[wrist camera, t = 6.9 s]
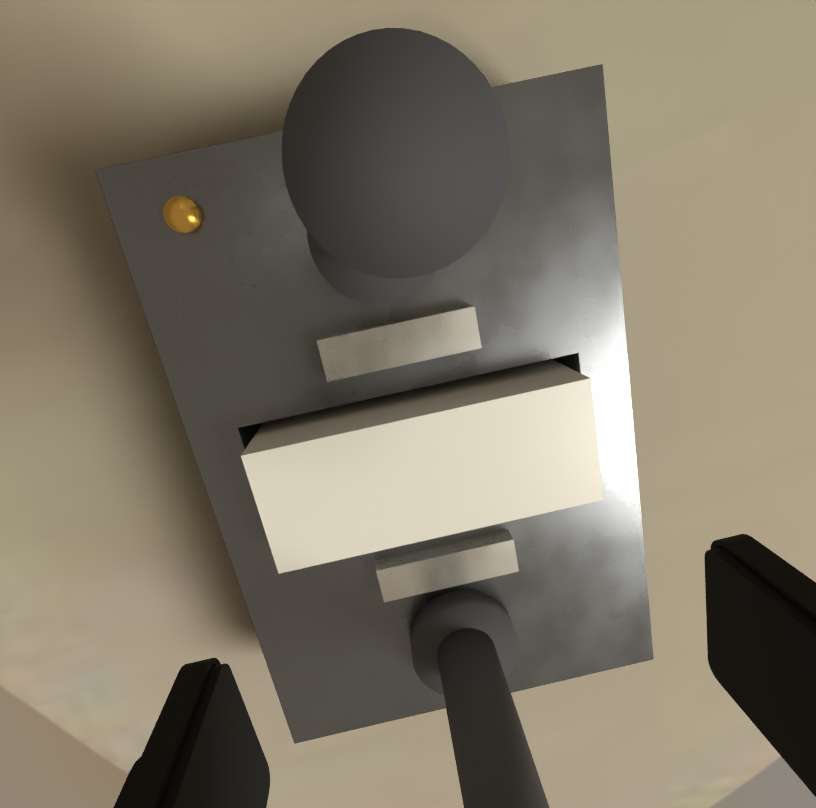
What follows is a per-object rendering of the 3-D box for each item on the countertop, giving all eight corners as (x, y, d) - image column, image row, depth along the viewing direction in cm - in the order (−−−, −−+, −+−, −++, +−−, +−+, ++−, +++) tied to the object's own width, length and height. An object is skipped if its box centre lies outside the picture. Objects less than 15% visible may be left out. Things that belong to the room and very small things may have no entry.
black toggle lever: (400, 602, 23) (442, 1033, 10) (503, 579, 23) (677, 974, 10) (421, 686, 24) (482, 1161, 11) (518, 663, 24) (689, 1109, 11)
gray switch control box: (163, 195, 23) (81, 165, 16) (544, 115, 23) (613, 55, 17) (308, 651, 30) (292, 759, 23) (598, 584, 30) (662, 671, 24)
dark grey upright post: (295, 179, 18) (113, -49, 5) (427, 151, 18) (579, -141, 5) (328, 313, 19) (251, 404, 6) (451, 287, 19) (620, 323, 6)
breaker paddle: (275, 404, 25) (240, 455, 18) (530, 348, 25) (590, 378, 18) (301, 494, 26) (278, 573, 19) (543, 440, 26) (603, 499, 20)
